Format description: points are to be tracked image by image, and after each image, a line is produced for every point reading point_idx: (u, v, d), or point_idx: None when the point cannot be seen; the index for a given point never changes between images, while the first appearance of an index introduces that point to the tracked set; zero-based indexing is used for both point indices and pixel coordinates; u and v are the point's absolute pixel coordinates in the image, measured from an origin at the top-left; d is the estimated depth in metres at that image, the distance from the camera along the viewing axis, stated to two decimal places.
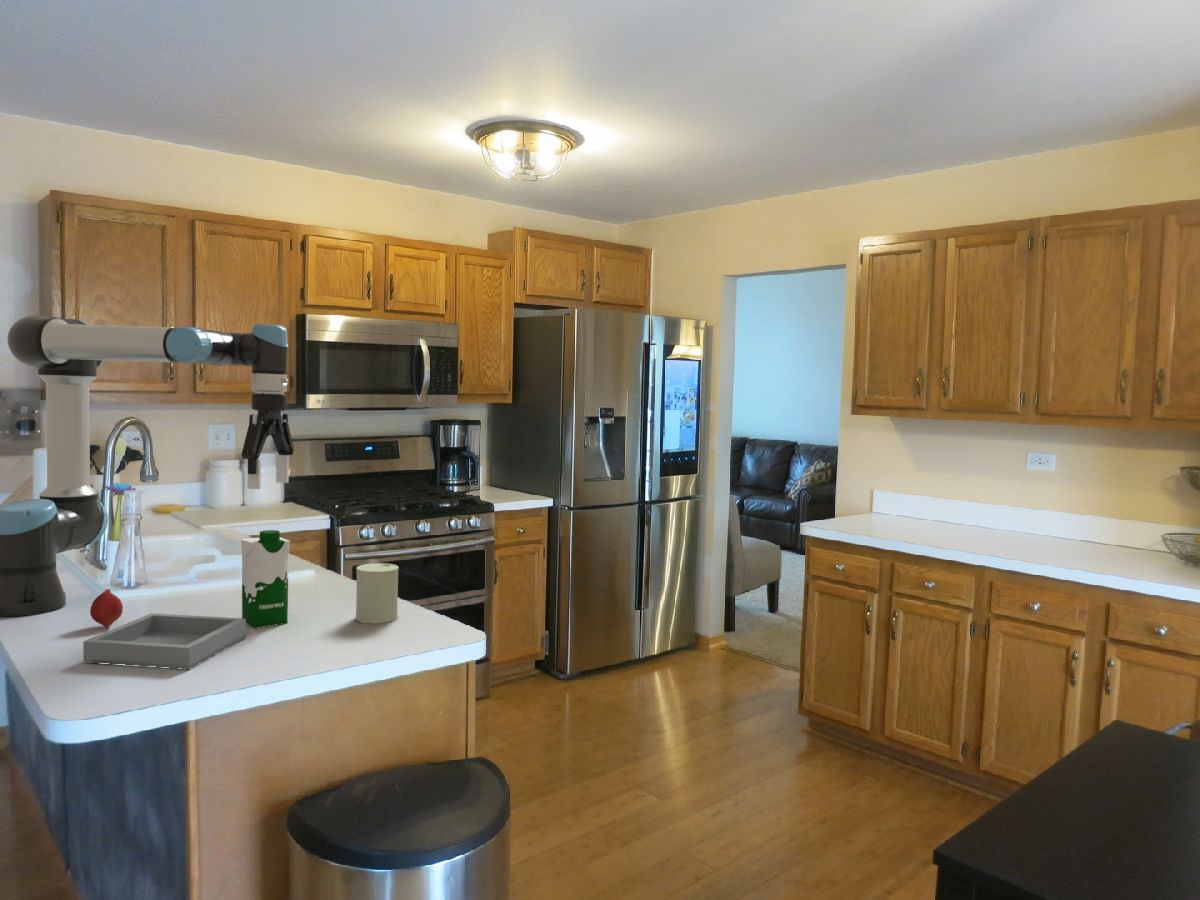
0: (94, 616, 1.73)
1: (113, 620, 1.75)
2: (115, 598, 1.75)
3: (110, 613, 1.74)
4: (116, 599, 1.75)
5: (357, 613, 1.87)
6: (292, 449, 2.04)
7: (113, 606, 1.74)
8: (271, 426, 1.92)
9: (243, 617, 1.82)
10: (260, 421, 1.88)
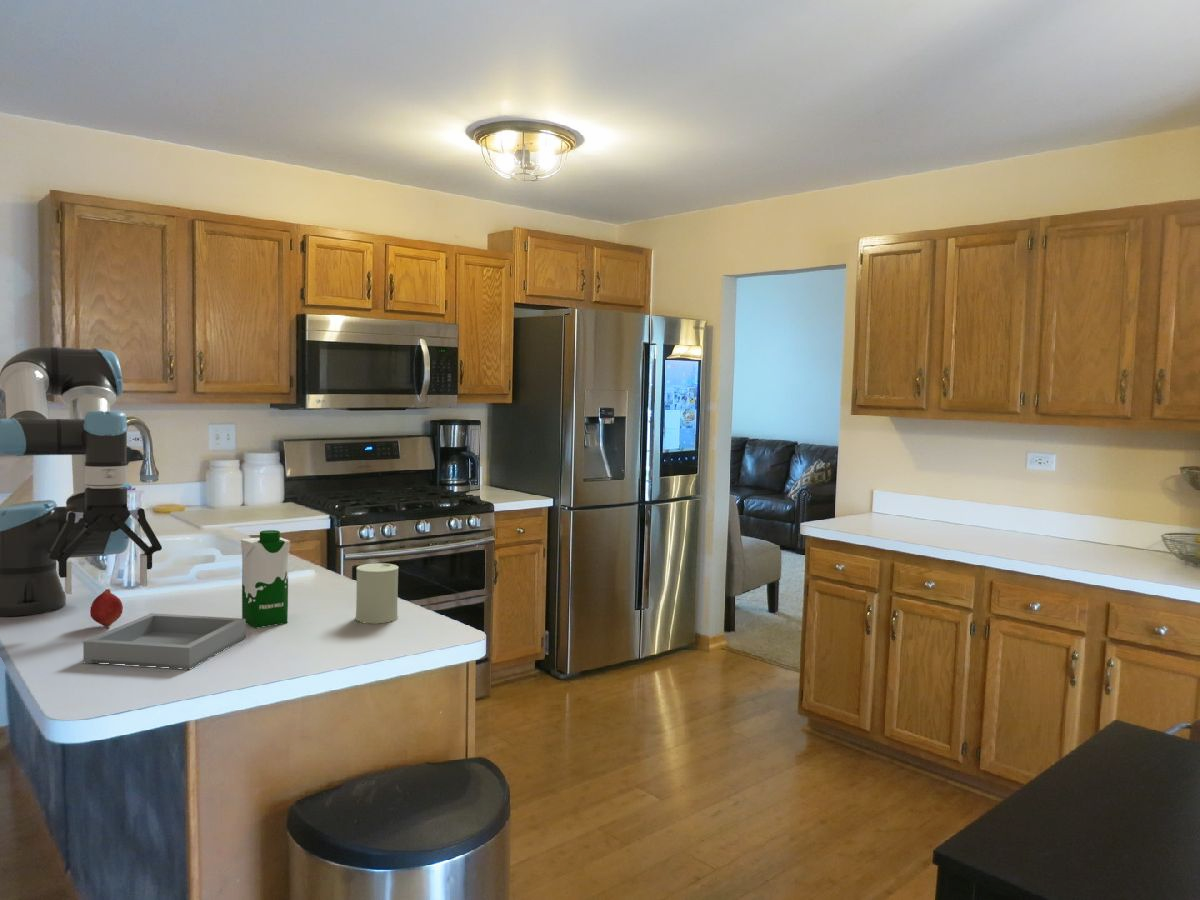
0: (94, 616, 1.73)
1: (113, 620, 1.75)
2: (115, 598, 1.75)
3: (110, 613, 1.74)
4: (116, 599, 1.75)
5: (357, 613, 1.87)
6: (158, 548, 1.80)
7: (113, 606, 1.74)
8: (94, 524, 1.72)
9: (243, 617, 1.82)
10: (70, 519, 1.69)
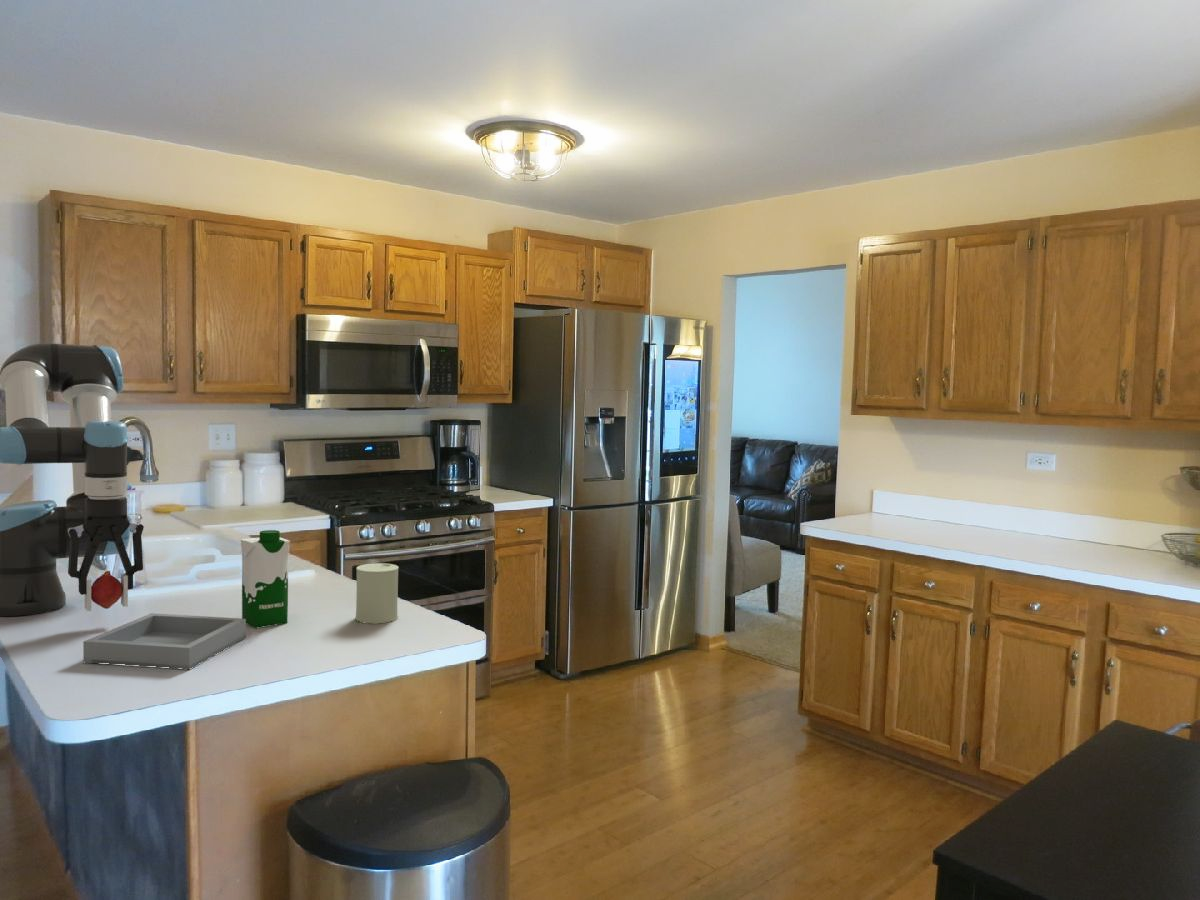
0: (94, 598, 1.73)
1: (113, 602, 1.75)
2: (115, 580, 1.76)
3: (110, 595, 1.74)
4: (116, 581, 1.76)
5: (357, 613, 1.87)
6: (139, 568, 1.78)
7: (112, 588, 1.74)
8: (97, 536, 1.72)
9: (243, 617, 1.82)
10: (73, 536, 1.70)
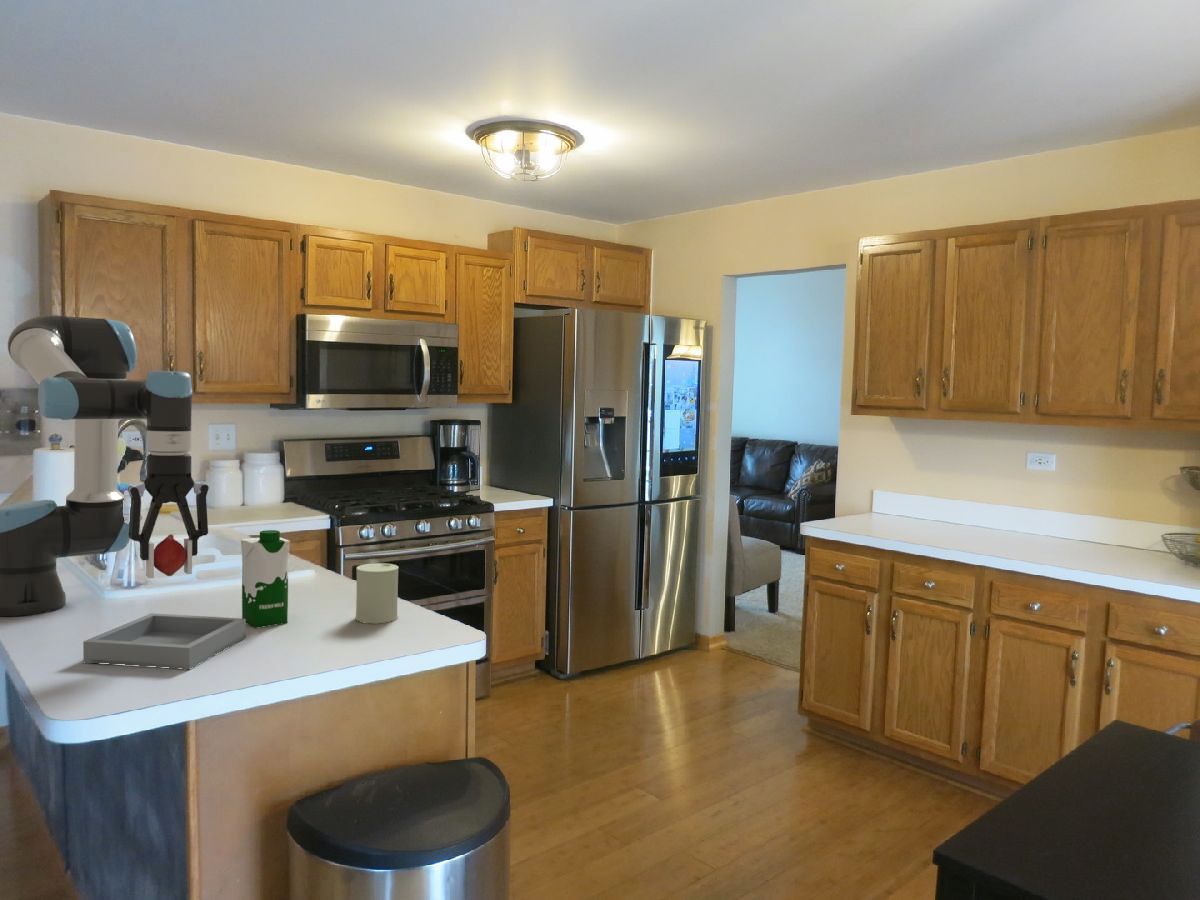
0: (156, 563, 1.59)
1: (176, 568, 1.60)
2: (179, 544, 1.61)
3: (174, 560, 1.59)
4: (180, 546, 1.61)
5: (357, 613, 1.87)
6: (204, 532, 1.64)
7: (176, 553, 1.59)
8: (160, 496, 1.58)
9: (243, 617, 1.82)
10: (134, 495, 1.55)
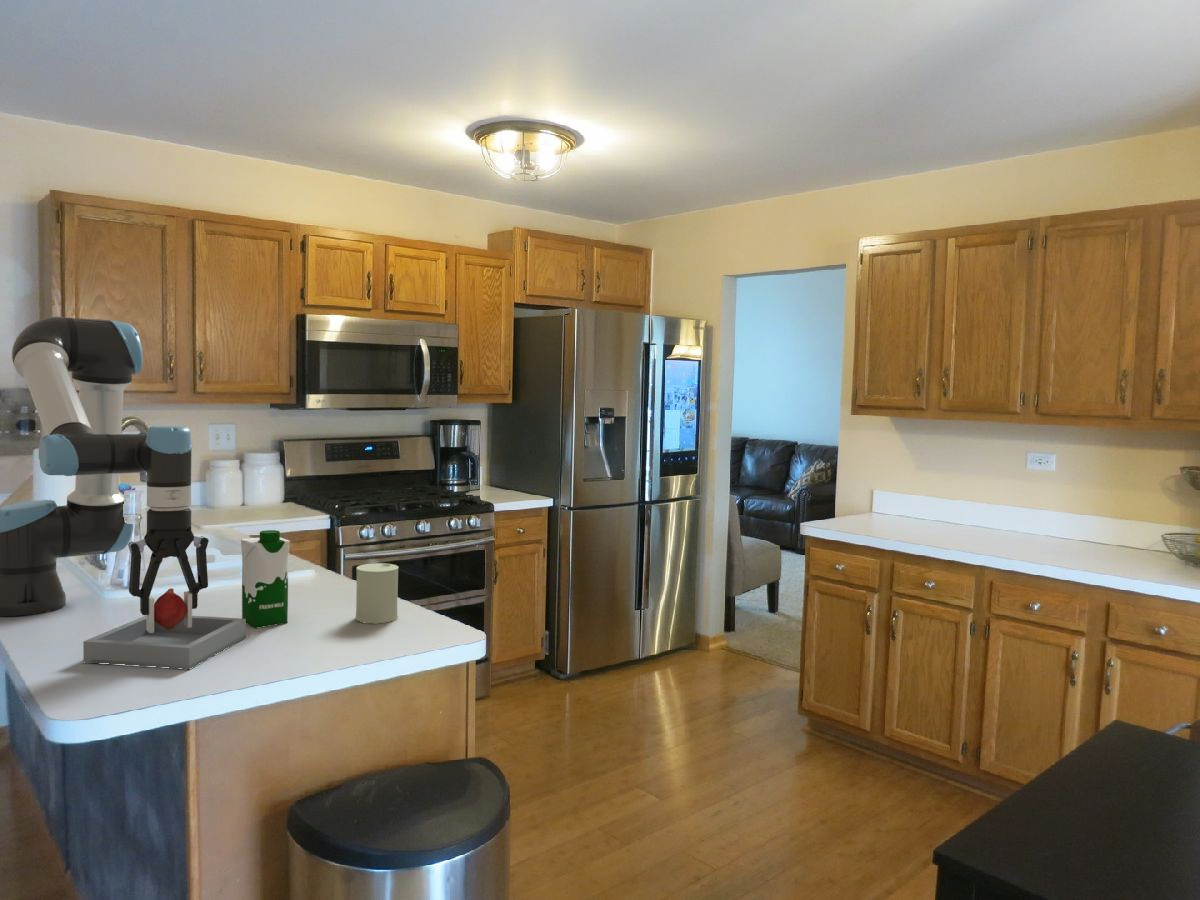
0: (157, 618, 1.59)
1: (177, 622, 1.61)
2: (179, 598, 1.61)
3: (174, 615, 1.60)
4: (180, 599, 1.61)
5: (357, 613, 1.87)
6: (203, 585, 1.64)
7: (176, 607, 1.60)
8: (160, 551, 1.58)
9: (243, 617, 1.82)
10: (135, 551, 1.56)
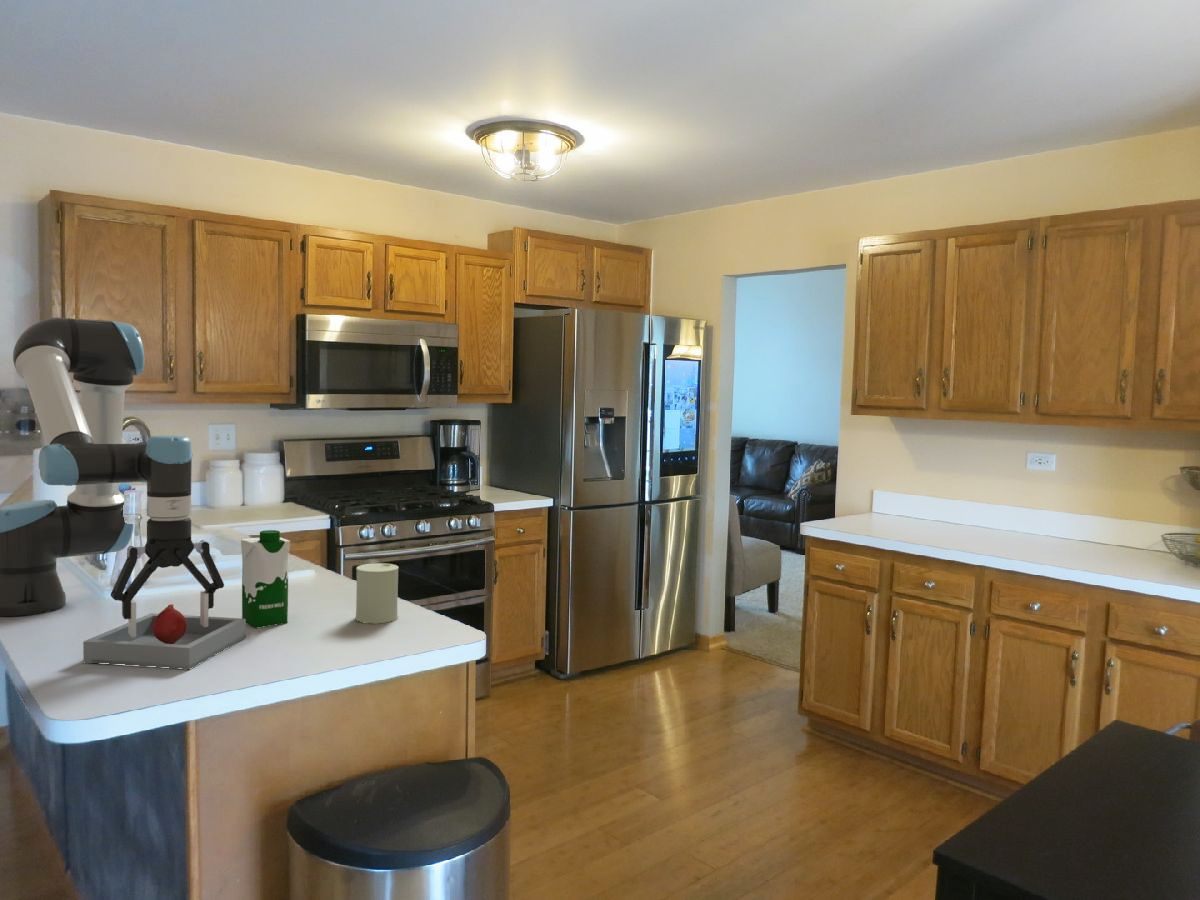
0: (157, 634, 1.60)
1: (177, 638, 1.61)
2: (179, 614, 1.62)
3: (175, 630, 1.60)
4: (180, 615, 1.62)
5: (357, 613, 1.87)
6: (220, 585, 1.66)
7: (177, 623, 1.60)
8: (158, 559, 1.58)
9: (243, 617, 1.82)
10: (132, 556, 1.56)
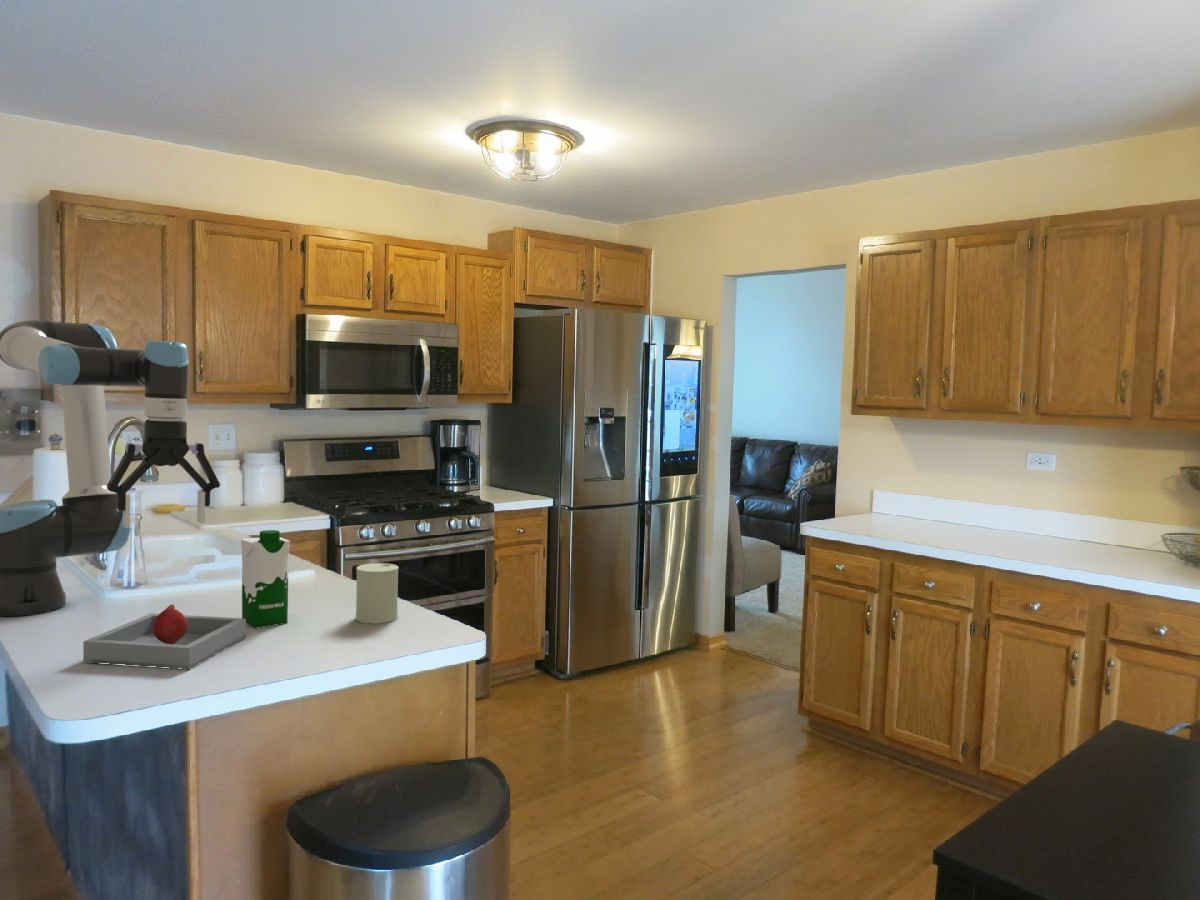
0: (157, 634, 1.60)
1: (177, 638, 1.61)
2: (179, 614, 1.62)
3: (175, 631, 1.60)
4: (181, 615, 1.62)
5: (357, 613, 1.87)
6: (216, 485, 1.75)
7: (177, 623, 1.60)
8: (154, 457, 1.67)
9: (243, 617, 1.82)
10: (130, 451, 1.65)
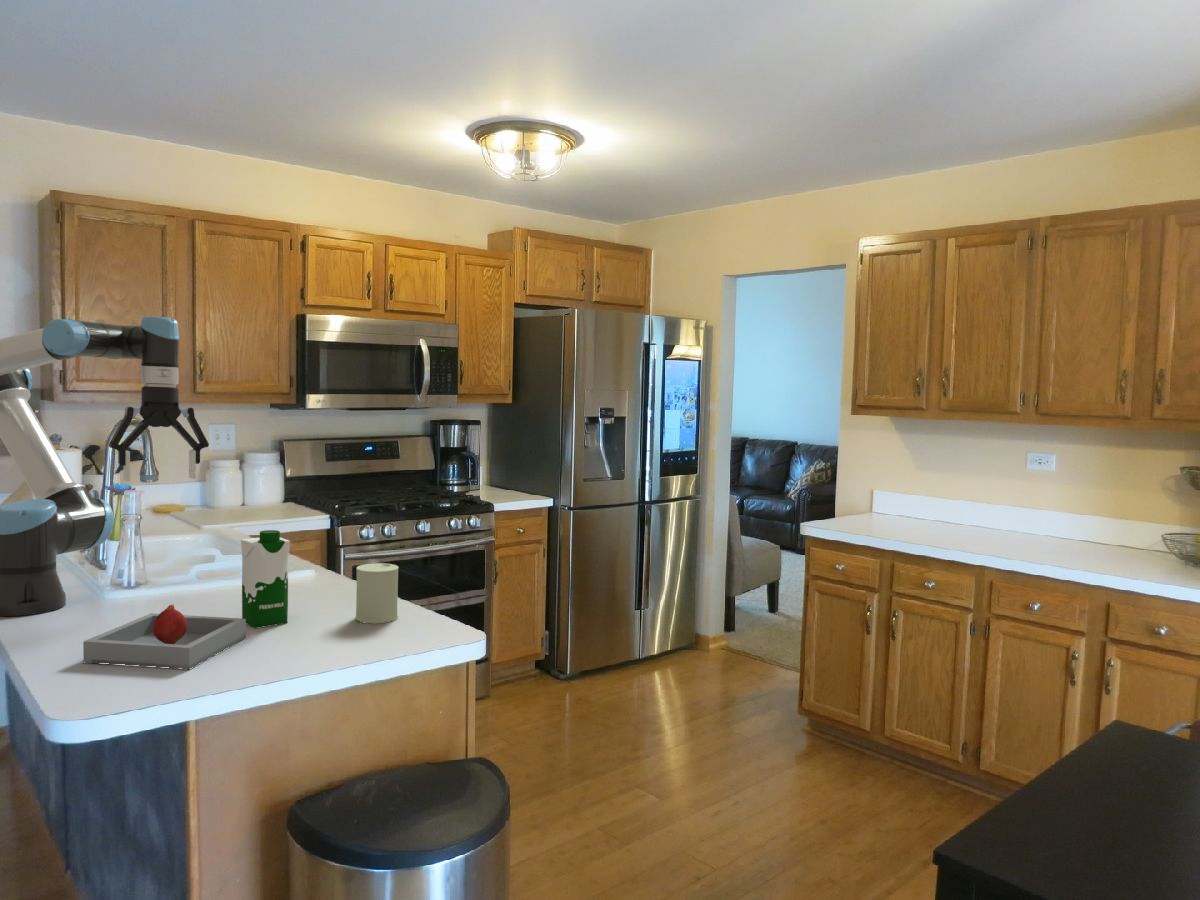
0: (157, 634, 1.60)
1: (177, 638, 1.61)
2: (179, 615, 1.62)
3: (175, 631, 1.60)
4: (180, 616, 1.62)
5: (357, 613, 1.87)
6: (205, 445, 1.99)
7: (177, 624, 1.60)
8: (150, 419, 1.90)
9: (243, 617, 1.82)
10: (129, 413, 1.88)
